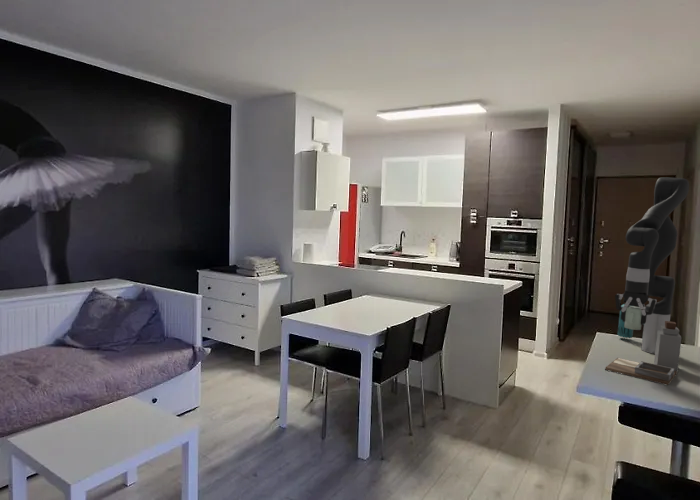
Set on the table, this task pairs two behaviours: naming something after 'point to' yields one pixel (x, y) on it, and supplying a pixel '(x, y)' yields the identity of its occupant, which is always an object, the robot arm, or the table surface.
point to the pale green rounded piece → (633, 318)
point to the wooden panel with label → (643, 370)
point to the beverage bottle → (621, 329)
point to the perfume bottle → (668, 346)
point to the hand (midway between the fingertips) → (632, 322)
